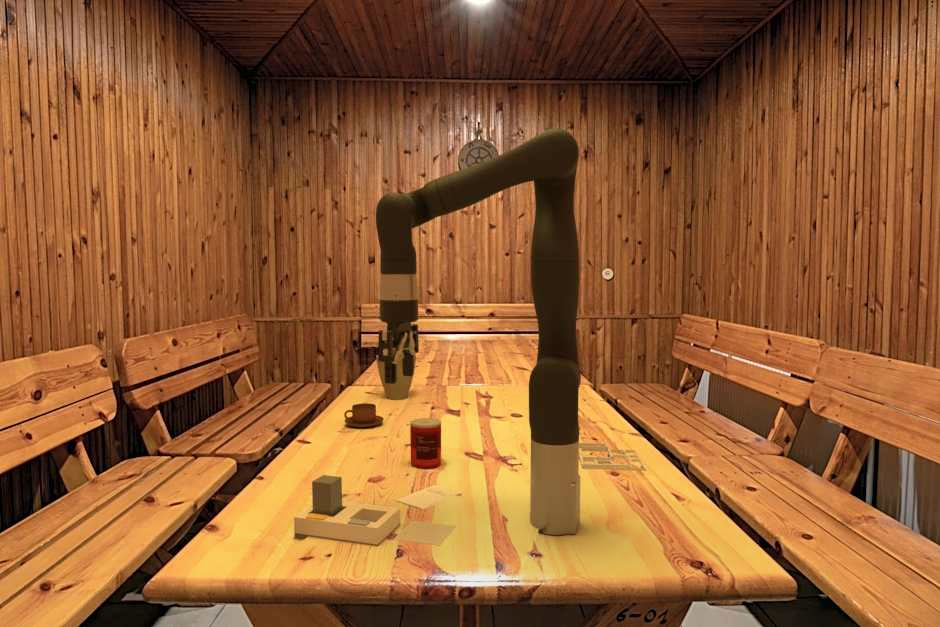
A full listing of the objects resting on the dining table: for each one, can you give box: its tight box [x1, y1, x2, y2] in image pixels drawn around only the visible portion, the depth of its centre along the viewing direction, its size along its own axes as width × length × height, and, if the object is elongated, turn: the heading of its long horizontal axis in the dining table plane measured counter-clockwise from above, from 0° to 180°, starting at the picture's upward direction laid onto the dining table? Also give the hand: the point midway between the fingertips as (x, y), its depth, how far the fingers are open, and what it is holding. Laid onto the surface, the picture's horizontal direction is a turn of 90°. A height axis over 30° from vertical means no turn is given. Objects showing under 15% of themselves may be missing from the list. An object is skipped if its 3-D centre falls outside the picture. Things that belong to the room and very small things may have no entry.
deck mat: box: [393, 520, 457, 546], centre depth 124 cm, size 9×9×1 cm
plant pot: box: [375, 353, 417, 401], centre depth 248 cm, size 15×15×16 cm
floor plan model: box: [579, 442, 647, 472], centre depth 173 cm, size 19×25×2 cm
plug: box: [311, 474, 343, 517], centre depth 127 cm, size 4×4×9 cm
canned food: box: [409, 417, 442, 470], centre depth 168 cm, size 8×8×11 cm
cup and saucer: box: [343, 402, 384, 428], centre depth 208 cm, size 12×12×6 cm
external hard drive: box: [394, 484, 462, 510], centre depth 143 cm, size 2×8×12 cm
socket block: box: [293, 500, 401, 547], centre depth 126 cm, size 17×10×4 cm, turn 72°
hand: (399, 379), depth 131 cm, fingers open, 8 cm apart
